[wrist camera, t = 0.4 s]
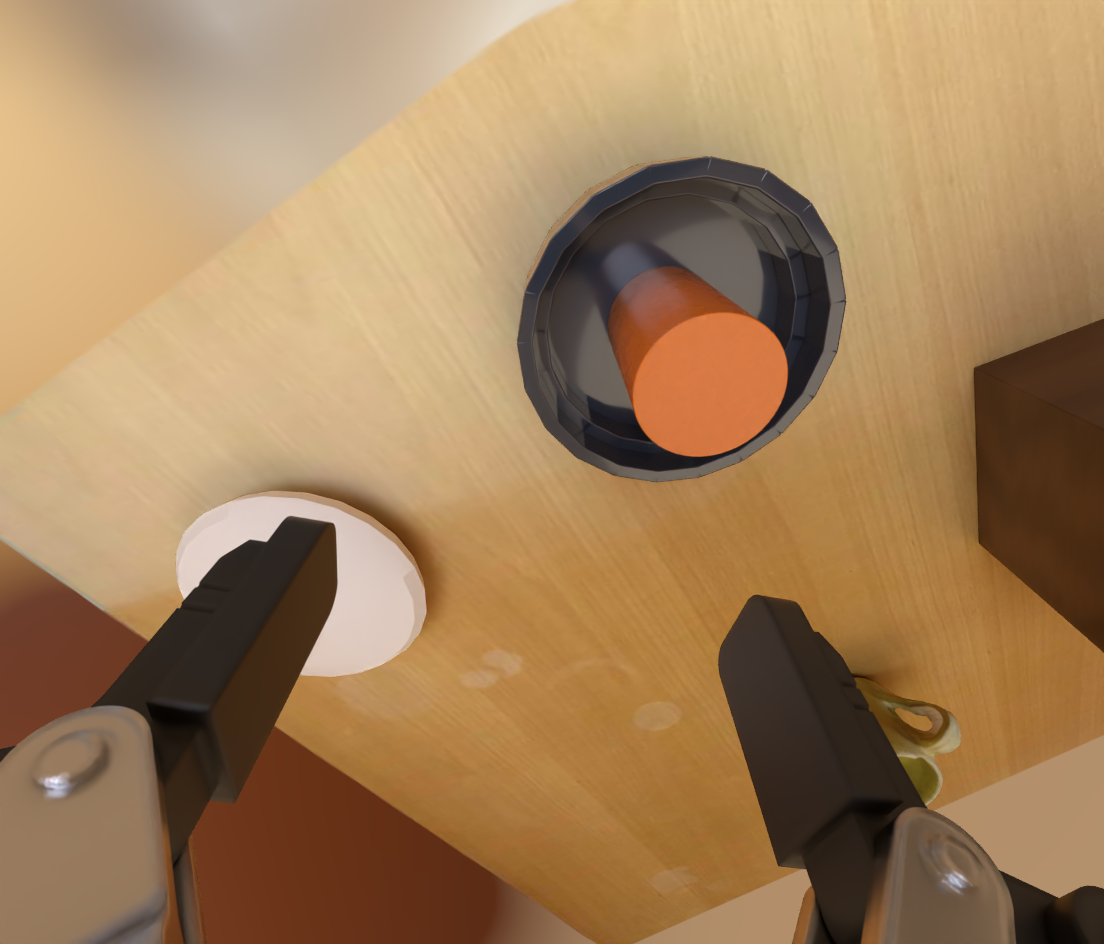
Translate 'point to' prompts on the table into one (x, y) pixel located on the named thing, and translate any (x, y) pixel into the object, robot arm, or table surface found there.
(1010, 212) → the table surface
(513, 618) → the table surface
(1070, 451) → the stand
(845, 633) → the table surface
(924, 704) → the mug
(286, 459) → the table surface
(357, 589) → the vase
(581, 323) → the pot
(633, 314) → the orange can
